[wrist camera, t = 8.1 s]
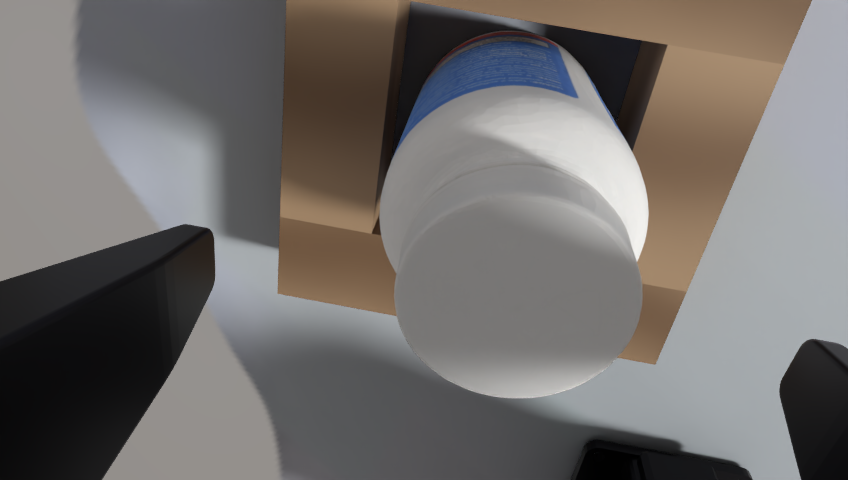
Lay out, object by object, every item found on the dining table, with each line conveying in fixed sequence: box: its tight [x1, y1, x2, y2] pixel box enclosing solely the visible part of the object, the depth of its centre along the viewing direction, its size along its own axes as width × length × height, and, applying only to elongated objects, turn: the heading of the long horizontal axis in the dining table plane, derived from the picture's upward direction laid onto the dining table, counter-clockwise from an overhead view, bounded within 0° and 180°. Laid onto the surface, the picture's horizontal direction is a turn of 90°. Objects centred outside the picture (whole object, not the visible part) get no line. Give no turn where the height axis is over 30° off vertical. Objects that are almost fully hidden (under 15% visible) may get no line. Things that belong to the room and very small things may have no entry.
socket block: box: [278, 0, 812, 365], centre depth 17 cm, size 12×12×2 cm
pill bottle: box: [379, 31, 649, 398], centre depth 14 cm, size 6×5×10 cm
